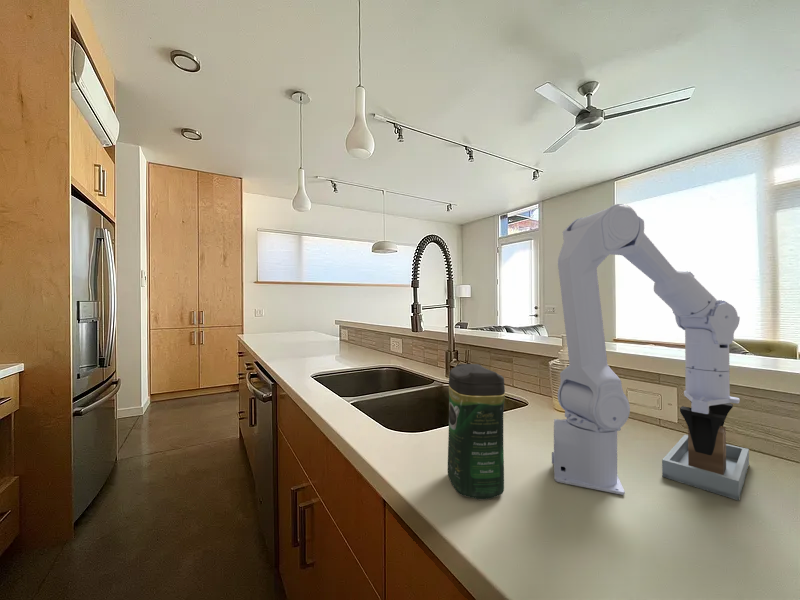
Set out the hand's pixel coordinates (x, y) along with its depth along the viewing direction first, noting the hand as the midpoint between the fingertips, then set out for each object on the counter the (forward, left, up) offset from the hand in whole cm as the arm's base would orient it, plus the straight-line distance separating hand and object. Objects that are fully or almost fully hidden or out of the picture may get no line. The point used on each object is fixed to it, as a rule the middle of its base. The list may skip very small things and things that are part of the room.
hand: (707, 447), depth 58 cm
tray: (0, 0, -4) cm, 4 cm away
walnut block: (0, 0, -3) cm, 3 cm away
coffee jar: (-36, -22, -4) cm, 42 cm away
